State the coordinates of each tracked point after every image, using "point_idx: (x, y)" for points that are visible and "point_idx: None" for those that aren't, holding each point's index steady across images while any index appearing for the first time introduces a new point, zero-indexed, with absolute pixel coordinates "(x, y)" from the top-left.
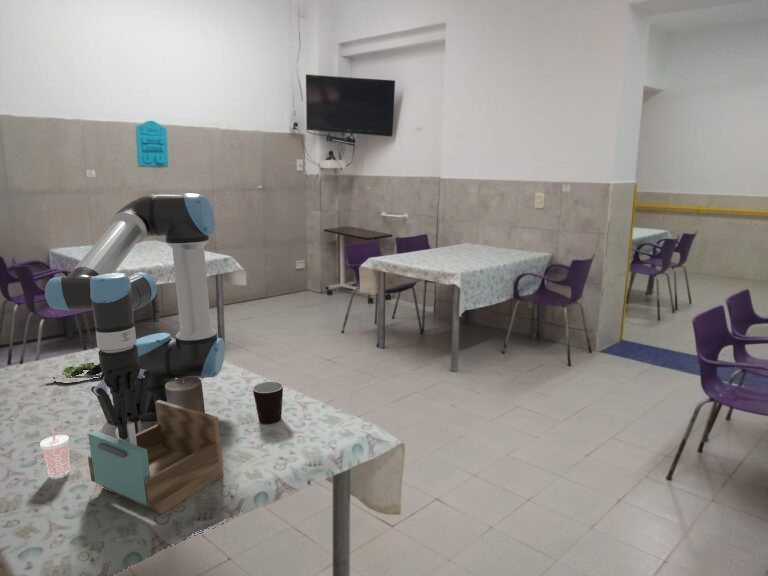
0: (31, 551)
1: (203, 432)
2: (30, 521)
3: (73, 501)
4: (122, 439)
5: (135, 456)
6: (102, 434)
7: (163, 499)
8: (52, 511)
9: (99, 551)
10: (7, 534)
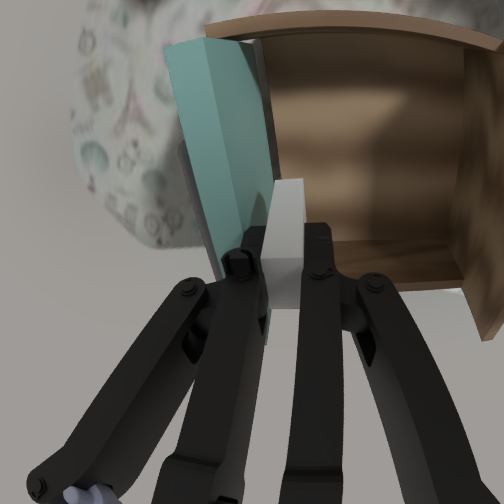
0: (95, 153)
1: (482, 265)
2: (106, 56)
3: (188, 36)
4: (271, 202)
5: None
6: (210, 119)
7: None
8: (143, 46)
9: (171, 233)
10: (74, 75)
